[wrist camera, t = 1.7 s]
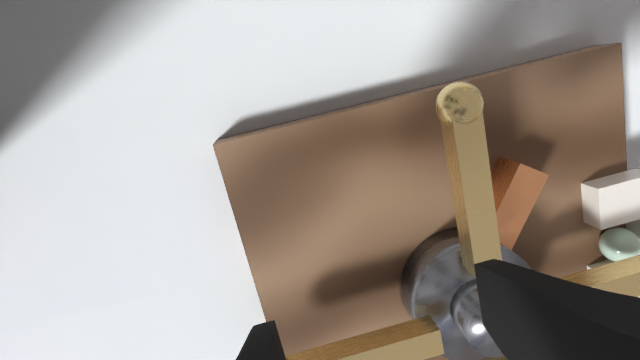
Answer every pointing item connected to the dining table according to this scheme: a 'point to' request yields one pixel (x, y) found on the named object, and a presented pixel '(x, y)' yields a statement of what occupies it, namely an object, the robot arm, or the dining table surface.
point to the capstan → (465, 251)
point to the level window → (614, 213)
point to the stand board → (413, 190)
